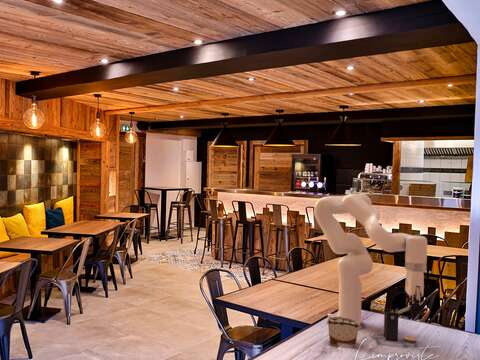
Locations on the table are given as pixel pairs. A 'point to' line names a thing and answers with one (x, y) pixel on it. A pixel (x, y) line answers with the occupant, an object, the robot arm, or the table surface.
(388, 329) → the black upright box
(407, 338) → the cake
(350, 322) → the food container
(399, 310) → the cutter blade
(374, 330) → the table surface
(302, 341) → the table surface
